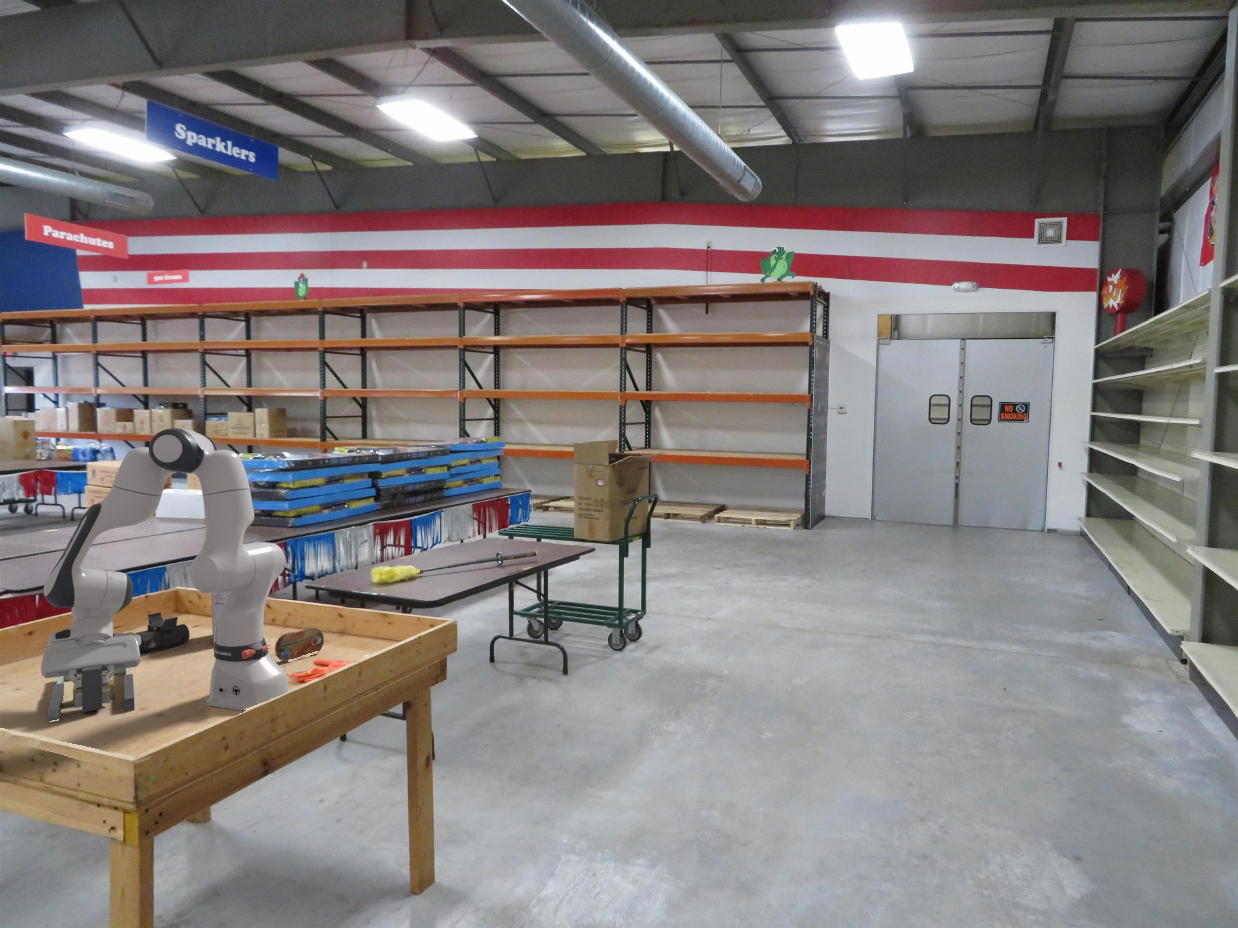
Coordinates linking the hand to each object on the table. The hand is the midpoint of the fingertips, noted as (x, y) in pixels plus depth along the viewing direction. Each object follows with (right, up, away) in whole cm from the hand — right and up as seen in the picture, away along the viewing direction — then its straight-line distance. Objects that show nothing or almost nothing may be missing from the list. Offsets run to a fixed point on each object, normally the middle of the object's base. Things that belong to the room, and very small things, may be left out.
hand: (92, 686), depth 190 cm
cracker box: (0, -3, +62) cm, 62 cm away
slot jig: (-4, -6, +7) cm, 10 cm away
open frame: (-13, -5, +20) cm, 24 cm away
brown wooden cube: (-4, -6, +10) cm, 12 cm away
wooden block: (-7, -6, +7) cm, 12 cm away
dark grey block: (-1, -5, +1) cm, 5 cm away
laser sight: (-15, -3, +49) cm, 52 cm away
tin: (+31, -5, +46) cm, 56 cm away
